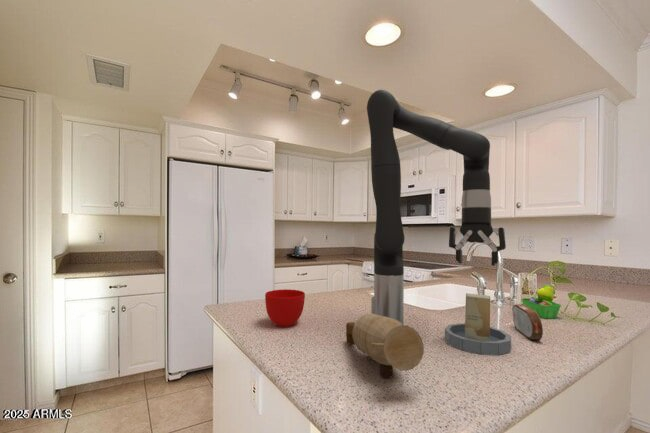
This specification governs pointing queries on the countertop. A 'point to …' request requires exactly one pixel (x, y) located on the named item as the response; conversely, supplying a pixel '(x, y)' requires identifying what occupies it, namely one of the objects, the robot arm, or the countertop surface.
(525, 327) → the tin
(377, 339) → the wooden log toy
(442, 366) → the countertop surface
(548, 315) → the fruit basket
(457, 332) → the round dish
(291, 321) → the ceramic cup
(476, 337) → the skincare box
